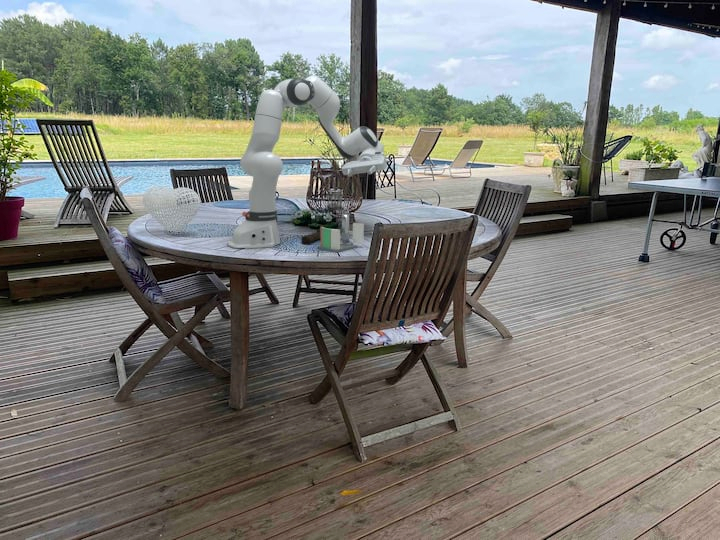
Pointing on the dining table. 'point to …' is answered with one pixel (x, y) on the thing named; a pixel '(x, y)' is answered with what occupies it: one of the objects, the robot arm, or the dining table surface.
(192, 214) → the heart
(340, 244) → the base
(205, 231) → the dining table surface
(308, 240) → the hand tool
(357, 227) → the gauge lever
